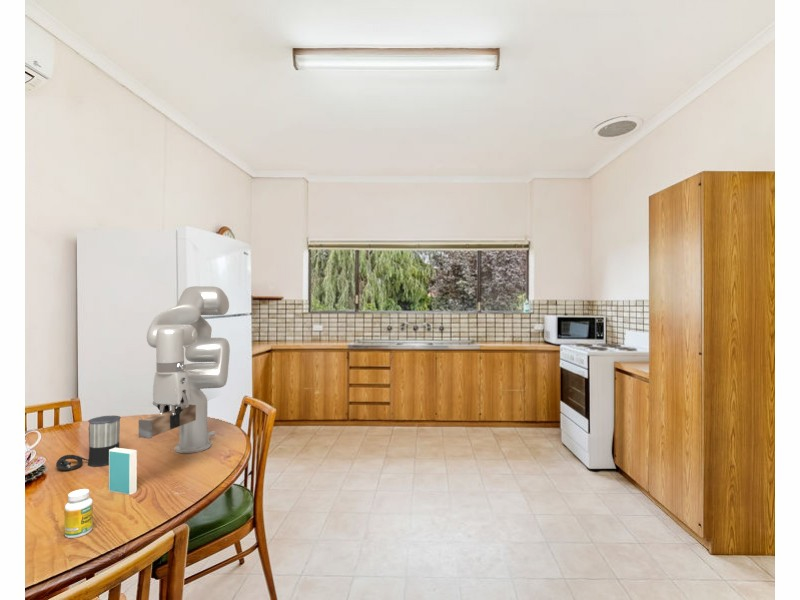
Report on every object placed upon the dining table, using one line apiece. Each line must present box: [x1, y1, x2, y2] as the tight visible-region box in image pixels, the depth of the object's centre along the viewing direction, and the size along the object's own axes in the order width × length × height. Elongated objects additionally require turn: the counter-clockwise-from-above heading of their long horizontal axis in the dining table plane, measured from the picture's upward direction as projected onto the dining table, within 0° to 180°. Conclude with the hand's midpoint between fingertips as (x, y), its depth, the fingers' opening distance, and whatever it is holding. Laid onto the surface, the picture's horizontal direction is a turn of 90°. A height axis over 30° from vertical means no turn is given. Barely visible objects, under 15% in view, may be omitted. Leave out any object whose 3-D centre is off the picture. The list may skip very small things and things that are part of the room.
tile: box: [108, 447, 138, 495], centre depth 123 cm, size 2×8×12 cm, turn 73°
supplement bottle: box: [64, 488, 94, 539], centre depth 101 cm, size 5×5×10 cm
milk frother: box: [55, 415, 121, 471], centre depth 143 cm, size 14×16×15 cm
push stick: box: [138, 404, 196, 440], centre depth 131 cm, size 19×4×5 cm, turn 164°
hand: (170, 426), depth 131 cm, fingers closed on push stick, 2 cm apart
